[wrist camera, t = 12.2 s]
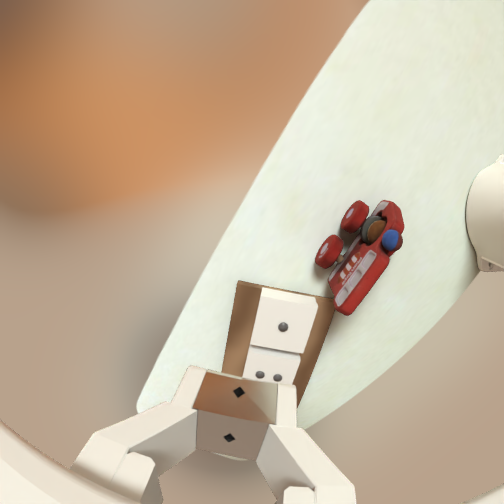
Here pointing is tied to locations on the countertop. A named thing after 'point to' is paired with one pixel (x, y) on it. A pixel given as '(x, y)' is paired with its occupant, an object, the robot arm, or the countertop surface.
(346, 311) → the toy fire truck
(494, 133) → the countertop surface
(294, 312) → the one-pip tile
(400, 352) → the countertop surface
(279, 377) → the two-pip tile
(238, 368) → the walnut board
